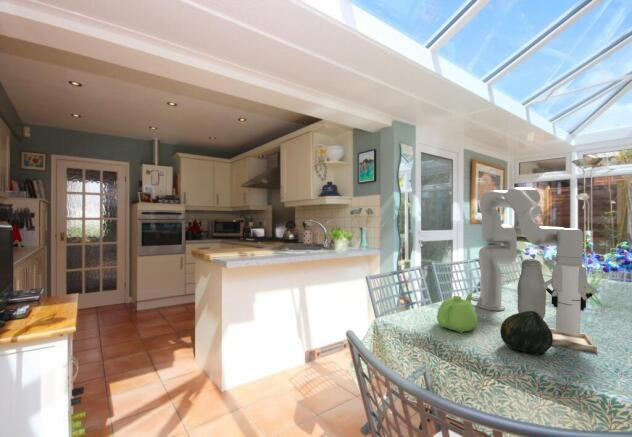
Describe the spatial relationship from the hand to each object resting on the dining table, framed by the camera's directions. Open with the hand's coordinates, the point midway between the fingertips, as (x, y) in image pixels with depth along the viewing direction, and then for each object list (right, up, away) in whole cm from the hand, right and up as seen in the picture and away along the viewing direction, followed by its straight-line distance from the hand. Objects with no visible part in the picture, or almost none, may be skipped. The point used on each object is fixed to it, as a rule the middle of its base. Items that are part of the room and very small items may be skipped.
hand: (568, 307), depth 116 cm
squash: (-21, -13, -7) cm, 26 cm away
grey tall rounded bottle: (+1, -13, +22) cm, 25 cm away
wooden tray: (0, -13, 0) cm, 13 cm away
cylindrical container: (0, -9, 0) cm, 9 cm away
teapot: (-35, -12, +14) cm, 40 cm away
